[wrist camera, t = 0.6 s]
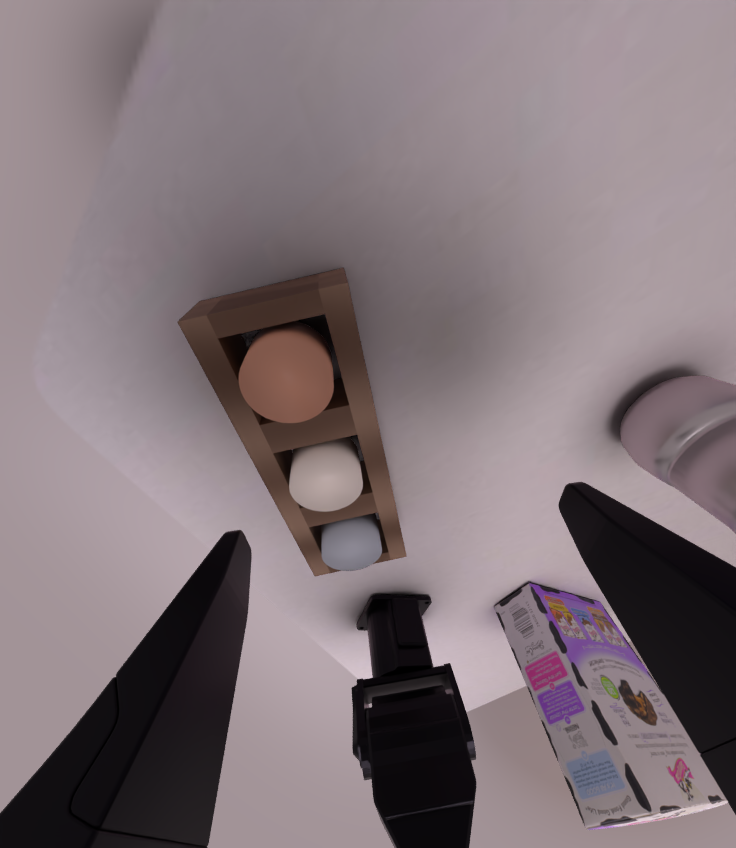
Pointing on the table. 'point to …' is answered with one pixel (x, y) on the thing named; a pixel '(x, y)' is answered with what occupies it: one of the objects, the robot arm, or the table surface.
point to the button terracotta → (287, 373)
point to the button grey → (351, 543)
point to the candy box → (603, 713)
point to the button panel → (272, 441)
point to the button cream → (326, 475)
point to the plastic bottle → (688, 440)
